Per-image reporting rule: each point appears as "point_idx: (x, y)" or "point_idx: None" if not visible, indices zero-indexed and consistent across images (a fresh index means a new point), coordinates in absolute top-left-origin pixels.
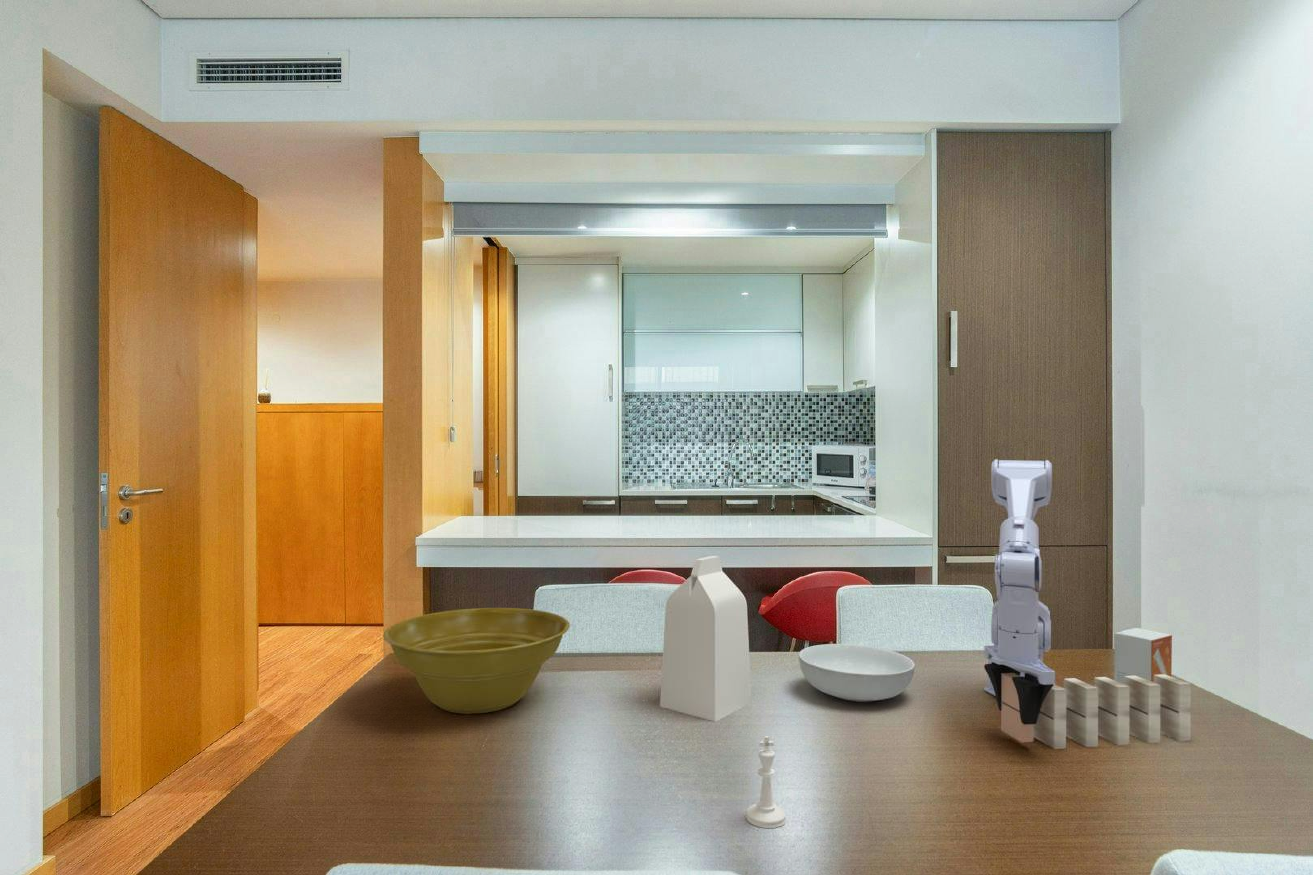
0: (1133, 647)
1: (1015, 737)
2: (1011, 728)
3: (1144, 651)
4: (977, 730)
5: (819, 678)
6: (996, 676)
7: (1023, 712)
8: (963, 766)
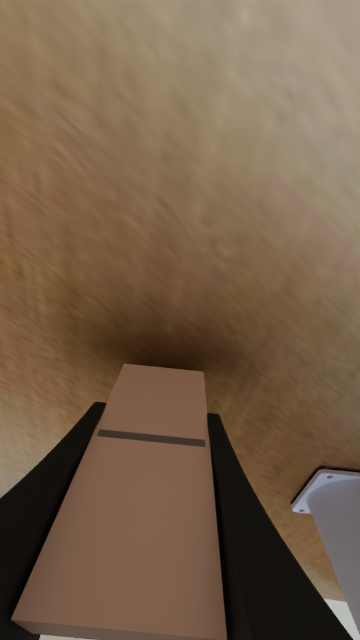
0: None
1: (146, 367)
2: (160, 381)
3: None
4: (262, 341)
5: None
6: (237, 592)
7: (69, 433)
8: (27, 102)
